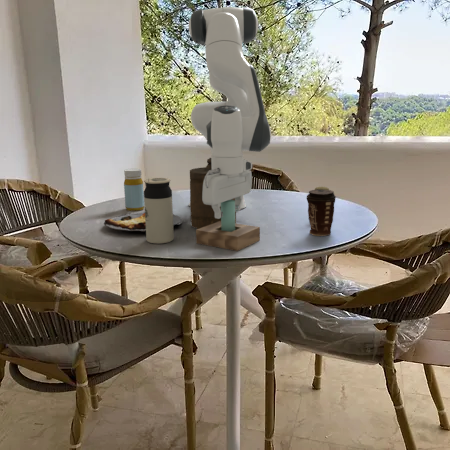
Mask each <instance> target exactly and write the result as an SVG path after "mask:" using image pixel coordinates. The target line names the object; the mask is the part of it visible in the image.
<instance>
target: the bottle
mask: <svg viewBox="0 0 450 450" xmlns="http://www.w3.org/2000/svg"><path fill="white" fill-rule="evenodd" d="M123 188H124V189H123V190H124V191H123V192H124V202H125V203H124V204H125V209H126V210H127V211H128V212H138V211H139V212H140V211H143V210H145V204H144V180H143V178H142V169H141V168H128V169H124V182H123Z"/></svg>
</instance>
